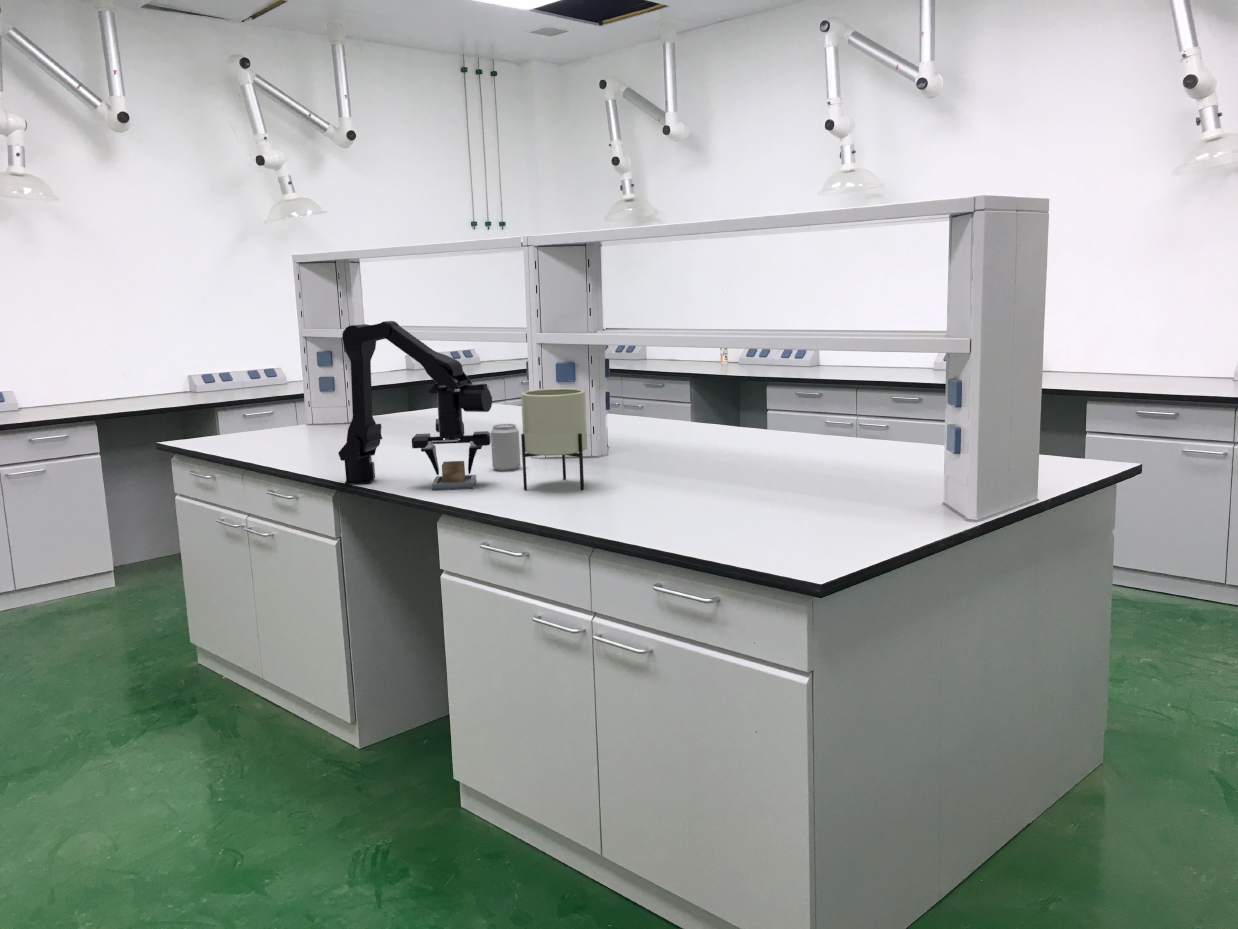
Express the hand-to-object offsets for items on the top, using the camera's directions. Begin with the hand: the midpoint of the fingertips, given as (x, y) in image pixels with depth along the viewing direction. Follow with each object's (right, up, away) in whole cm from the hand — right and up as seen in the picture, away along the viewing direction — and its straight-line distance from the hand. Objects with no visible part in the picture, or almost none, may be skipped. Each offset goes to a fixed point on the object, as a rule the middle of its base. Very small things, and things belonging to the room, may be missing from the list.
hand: (453, 474), depth 241 cm
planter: (+26, -3, -5) cm, 26 cm away
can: (+11, +1, +20) cm, 23 cm away
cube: (0, -2, 0) cm, 2 cm away
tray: (0, -3, +1) cm, 3 cm away
